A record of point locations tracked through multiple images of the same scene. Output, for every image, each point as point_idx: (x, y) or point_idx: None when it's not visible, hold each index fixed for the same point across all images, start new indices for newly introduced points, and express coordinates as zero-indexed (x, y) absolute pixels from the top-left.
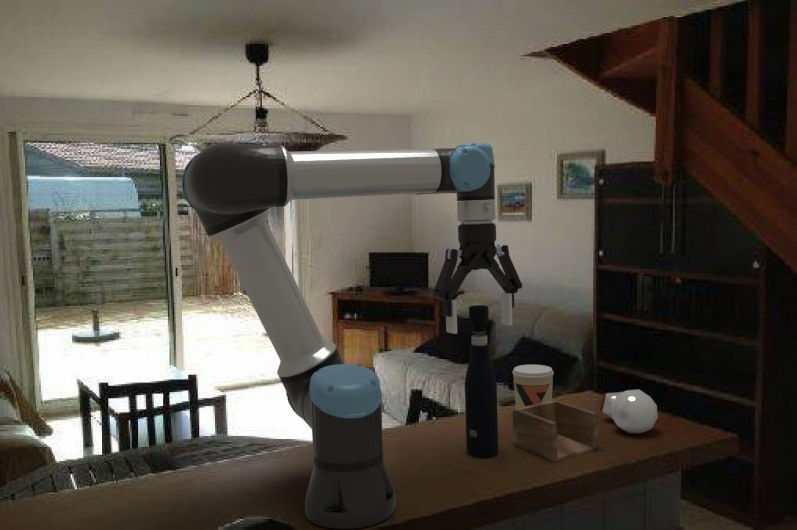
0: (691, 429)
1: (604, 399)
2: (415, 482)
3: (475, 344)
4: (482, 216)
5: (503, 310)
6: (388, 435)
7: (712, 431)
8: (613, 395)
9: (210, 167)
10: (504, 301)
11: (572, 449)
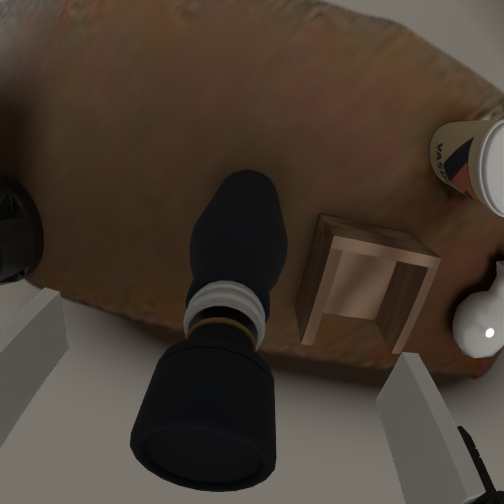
0: None
1: None
2: (87, 217)
3: (194, 318)
4: None
5: (416, 424)
6: (186, 6)
7: (493, 357)
8: None
9: None
10: (426, 475)
11: (351, 304)
